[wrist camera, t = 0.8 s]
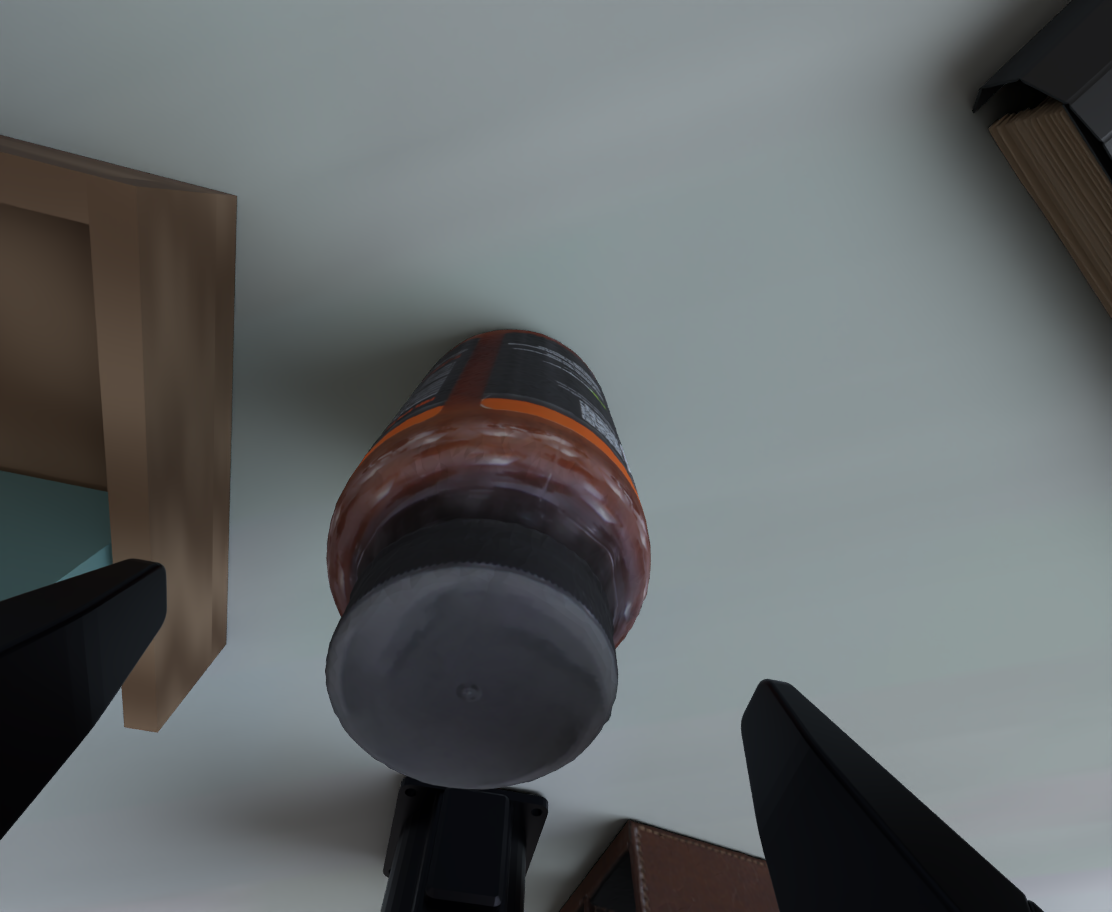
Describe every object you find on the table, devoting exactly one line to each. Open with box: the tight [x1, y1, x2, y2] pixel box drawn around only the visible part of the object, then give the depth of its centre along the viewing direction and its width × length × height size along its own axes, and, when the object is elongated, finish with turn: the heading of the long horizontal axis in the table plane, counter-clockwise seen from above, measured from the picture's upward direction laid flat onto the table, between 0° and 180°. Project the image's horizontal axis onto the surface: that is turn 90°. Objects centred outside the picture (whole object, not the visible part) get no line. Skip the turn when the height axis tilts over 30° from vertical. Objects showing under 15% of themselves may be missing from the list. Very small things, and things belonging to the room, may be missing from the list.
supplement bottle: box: [325, 329, 651, 789], centre depth 13 cm, size 6×6×11 cm
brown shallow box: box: [0, 135, 237, 733], centre depth 16 cm, size 16×10×4 cm, turn 166°
